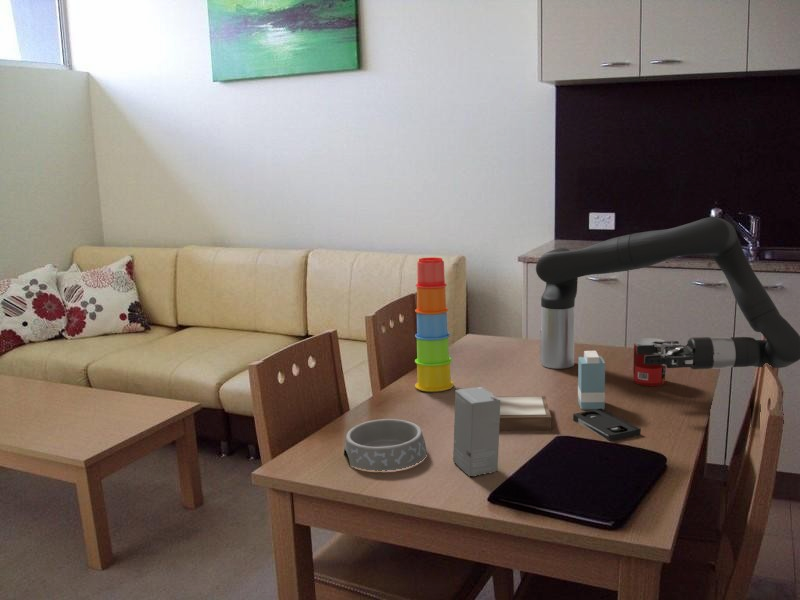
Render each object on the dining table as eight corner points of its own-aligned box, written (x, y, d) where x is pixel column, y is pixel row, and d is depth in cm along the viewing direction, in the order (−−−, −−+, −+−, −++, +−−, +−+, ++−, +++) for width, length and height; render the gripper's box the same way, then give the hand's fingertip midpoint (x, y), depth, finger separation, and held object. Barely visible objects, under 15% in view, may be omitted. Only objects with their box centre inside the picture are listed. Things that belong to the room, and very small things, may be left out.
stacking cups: (407, 387, 205) (401, 260, 197) (434, 378, 211) (430, 254, 204) (433, 396, 197) (429, 264, 190) (461, 386, 204) (457, 258, 196)
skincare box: (452, 462, 157) (450, 389, 154) (483, 456, 160) (481, 384, 156) (470, 479, 150) (468, 402, 146) (502, 472, 152) (501, 396, 149)
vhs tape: (572, 422, 177) (572, 413, 177) (600, 416, 180) (600, 408, 180) (610, 443, 164) (610, 435, 164) (640, 437, 167) (640, 428, 167)
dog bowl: (355, 480, 152) (354, 454, 151) (337, 445, 169) (335, 423, 168) (437, 466, 157) (436, 441, 156) (410, 434, 174) (409, 412, 173)
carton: (577, 401, 189) (578, 350, 186) (600, 401, 188) (601, 350, 186) (580, 409, 184) (581, 357, 181) (604, 409, 183) (605, 357, 180)
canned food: (669, 386, 197) (670, 345, 194) (637, 387, 197) (638, 346, 195) (659, 376, 204) (661, 337, 202) (629, 377, 205) (630, 338, 202)
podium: (487, 408, 187) (487, 395, 186) (545, 407, 186) (545, 394, 185) (488, 430, 173) (488, 416, 173) (551, 429, 172) (551, 416, 171)
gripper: (702, 330, 186) (634, 332, 188) (720, 345, 173) (647, 347, 174) (701, 359, 188) (634, 361, 190) (720, 377, 174) (647, 379, 176)
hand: (640, 355), depth 182 cm, fingers open, 8 cm apart
